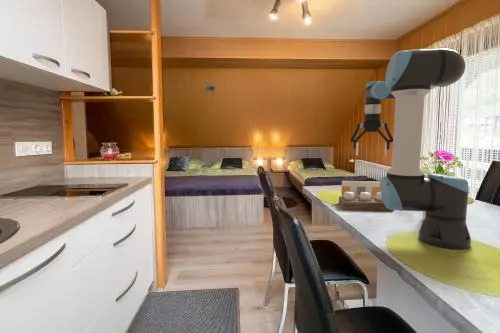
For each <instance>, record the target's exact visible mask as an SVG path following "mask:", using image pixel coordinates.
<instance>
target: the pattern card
mask: <svg viewBox="0 0 500 333" xmlns="http://www.w3.org/2000/svg"><path fill="white" fill-rule="evenodd" d="M380 182H381V181H375V180H373V181H372V180H371V181H370V180H368V181H365V180H364V181H362V180H359V181H358V180H342V181H341V195H340V197H344V192H354V197H360V193H361V192H368V193H370V197H374V198H376V197H377V193H378V192H381V191H380Z"/></svg>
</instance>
